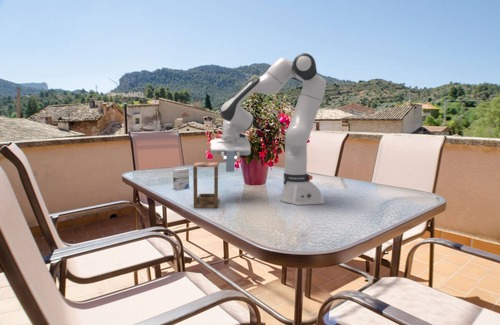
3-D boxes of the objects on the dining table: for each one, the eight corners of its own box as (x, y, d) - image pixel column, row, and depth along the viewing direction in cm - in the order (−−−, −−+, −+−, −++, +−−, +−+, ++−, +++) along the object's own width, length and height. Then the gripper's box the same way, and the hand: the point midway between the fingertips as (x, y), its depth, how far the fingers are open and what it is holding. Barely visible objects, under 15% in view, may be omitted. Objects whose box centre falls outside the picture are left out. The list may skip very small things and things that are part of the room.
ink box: (183, 186, 183) (183, 167, 181) (189, 188, 180) (189, 168, 178) (172, 189, 176) (172, 169, 174) (178, 190, 173) (178, 170, 172)
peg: (234, 170, 149) (234, 150, 147) (234, 171, 145) (234, 151, 143) (226, 170, 148) (226, 150, 147) (226, 171, 144) (226, 151, 143)
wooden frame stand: (219, 200, 152) (219, 161, 149) (217, 207, 138) (217, 165, 135) (197, 200, 151) (197, 161, 149) (193, 207, 137) (193, 164, 135)
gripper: (210, 134, 151) (208, 156, 142) (250, 135, 152) (251, 156, 143) (210, 142, 156) (209, 164, 147) (249, 143, 157) (250, 164, 148)
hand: (230, 160), depth 145 cm, fingers closed on peg, 4 cm apart
